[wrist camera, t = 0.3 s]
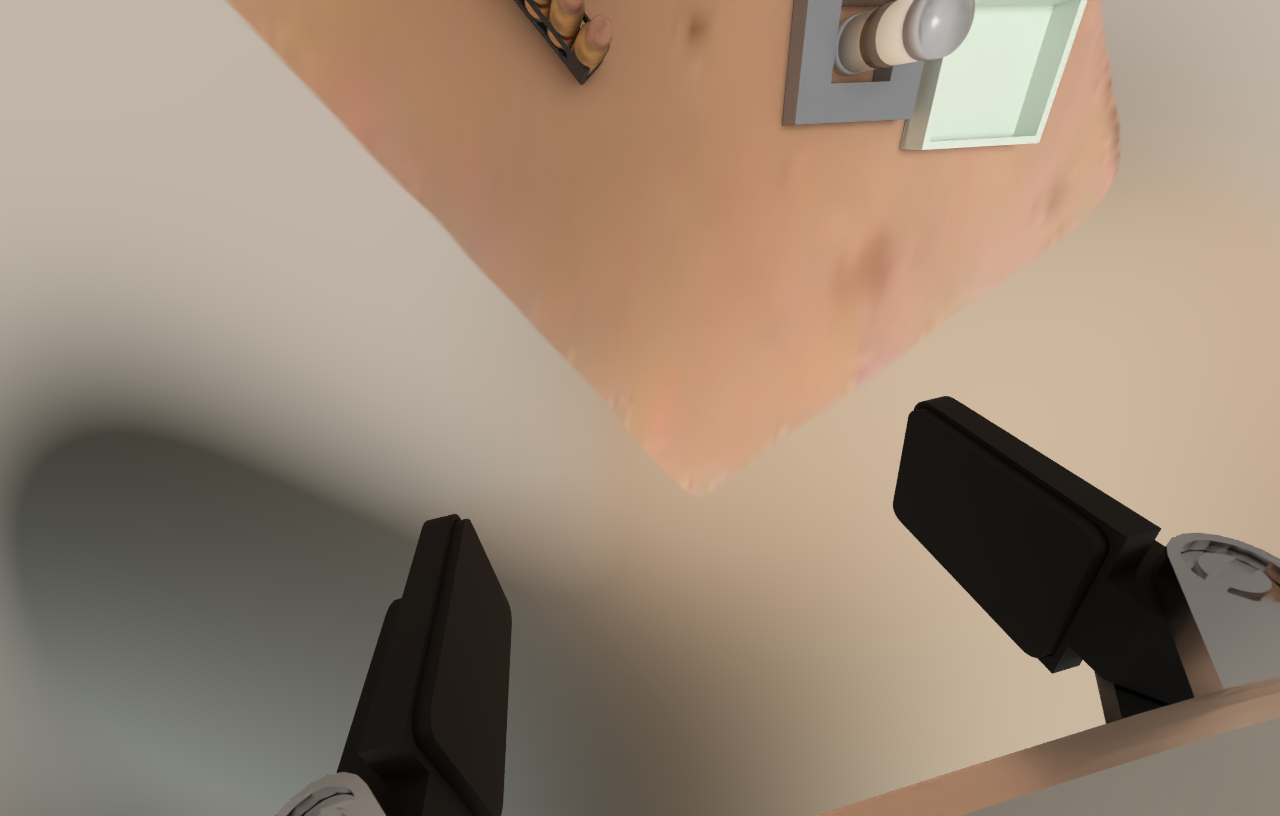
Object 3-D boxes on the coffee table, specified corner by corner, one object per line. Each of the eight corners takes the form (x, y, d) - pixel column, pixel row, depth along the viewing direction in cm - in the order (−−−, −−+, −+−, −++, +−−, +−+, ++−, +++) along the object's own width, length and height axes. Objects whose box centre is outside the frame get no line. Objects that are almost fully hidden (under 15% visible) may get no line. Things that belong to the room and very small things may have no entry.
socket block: (797, -41, 30) (813, -52, 28) (925, -41, 31) (948, -51, 29) (782, 125, 34) (795, 124, 33) (893, 119, 36) (911, 118, 34)
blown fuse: (832, 16, 32) (926, -22, 24) (876, 15, 32) (983, -22, 24) (824, 76, 33) (910, 59, 26) (866, 74, 34) (964, 57, 26)
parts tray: (930, -2, 32) (958, -11, 30) (1056, -3, 34) (1091, -12, 32) (899, 149, 37) (921, 149, 35) (1010, 142, 38) (1039, 142, 36)
